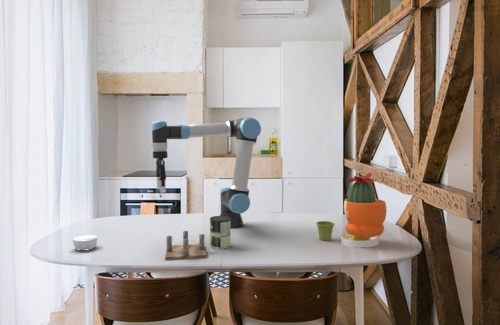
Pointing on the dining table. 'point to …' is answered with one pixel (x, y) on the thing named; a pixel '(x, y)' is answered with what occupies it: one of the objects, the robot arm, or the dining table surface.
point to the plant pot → (325, 230)
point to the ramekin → (85, 242)
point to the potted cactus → (363, 214)
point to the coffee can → (220, 232)
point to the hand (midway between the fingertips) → (161, 190)
